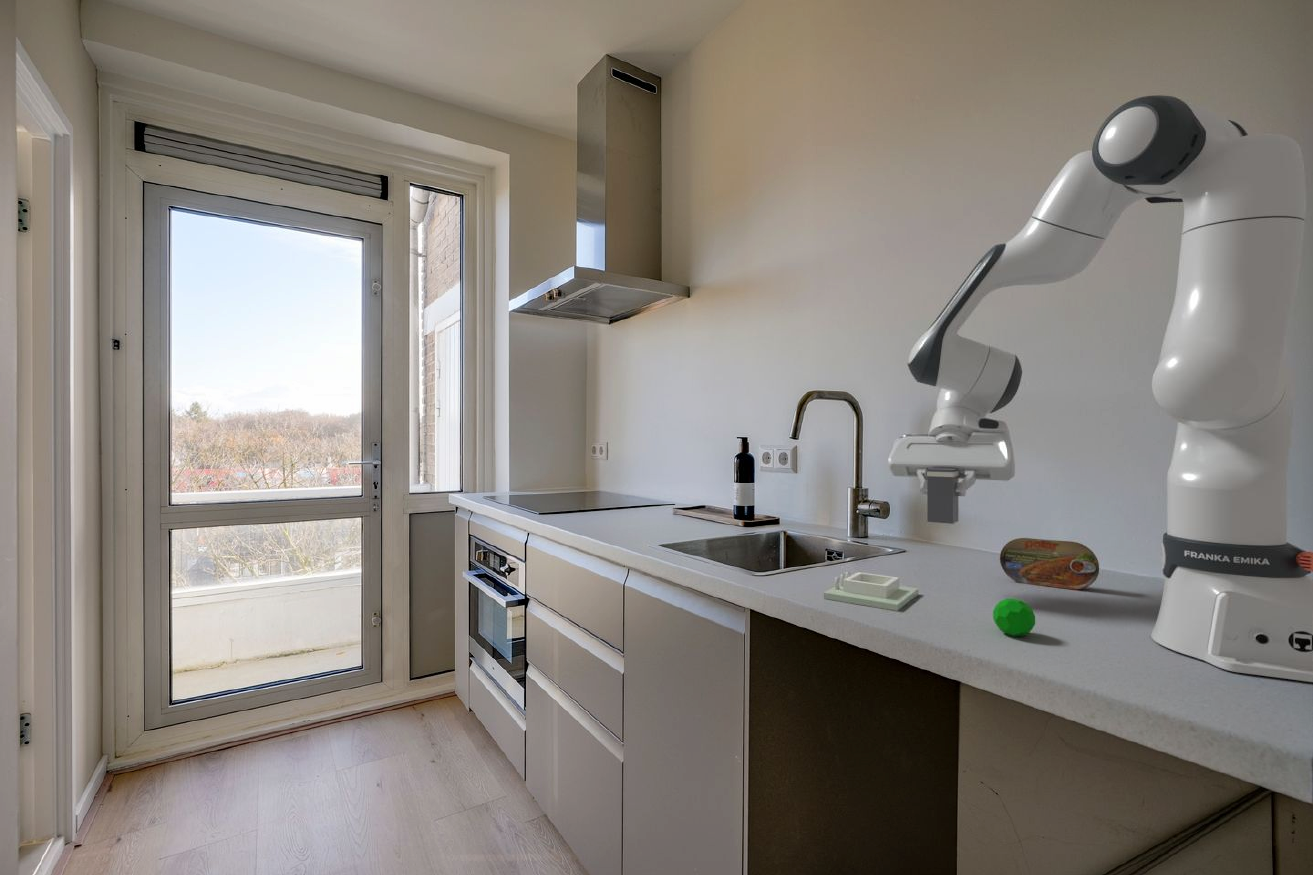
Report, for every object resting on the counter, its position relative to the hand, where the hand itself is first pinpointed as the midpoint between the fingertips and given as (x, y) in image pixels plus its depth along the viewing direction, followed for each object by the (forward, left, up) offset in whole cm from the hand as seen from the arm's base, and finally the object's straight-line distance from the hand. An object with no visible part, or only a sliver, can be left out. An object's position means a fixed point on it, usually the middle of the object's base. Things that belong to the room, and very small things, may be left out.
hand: (941, 493), depth 103 cm
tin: (-14, -19, -18) cm, 29 cm away
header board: (+9, +8, -17) cm, 21 cm away
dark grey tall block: (0, -1, -5) cm, 5 cm away
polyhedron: (-13, +15, -18) cm, 27 cm away
